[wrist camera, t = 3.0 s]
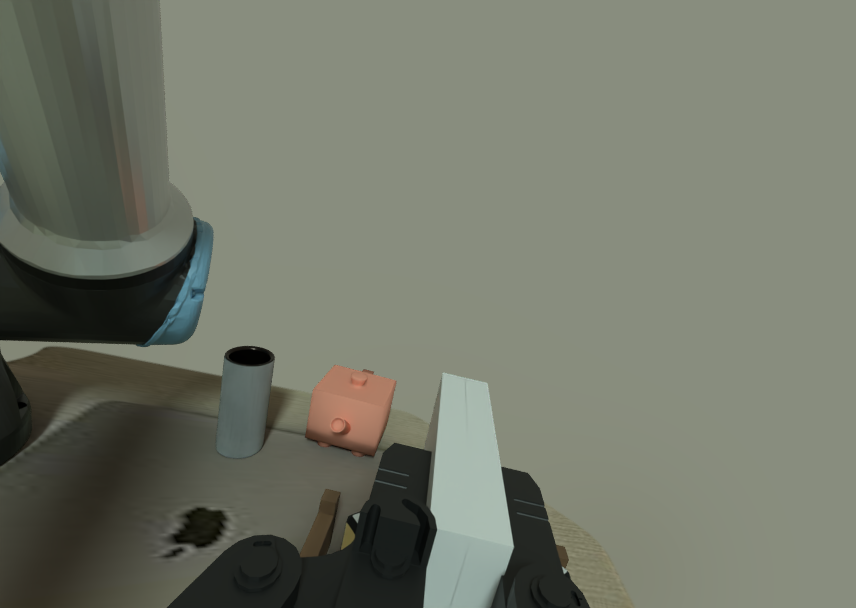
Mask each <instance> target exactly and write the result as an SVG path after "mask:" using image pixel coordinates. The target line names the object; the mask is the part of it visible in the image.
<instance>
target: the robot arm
mask: <svg viewBox="0 0 856 608" xmlns="http://www.w3.org/2000/svg"><path fill="white" fill-rule="evenodd" d="M0 172H1V174H2V177H3V179H4V181H5V182H4V183H3V184H2V185H1V186H0V340H13V341H44V342H47V341H48V342H77V343H107V344H136V345H137V346H140V347H148V346H150V345H173V344H180V343H183V342H185V341H186V340H188V339H189V338H190V337H191V336H192V335H193V333H194V331H195V329H196V327H197V323H198V320H199V316H200V313H201V309H202V303H203V298H204V291H205V287H206V283H207V279H208V274H209V268H210V262H211V255H212V247H213V228H212V226H211V225H210V224H209V223H207V222H204V221H201V220H200V219H198V218H196V217H193V215H192V210H191V207H190V205H189V203H188V201H187V199H186V198H185V196H184V195H183V194H182V193H181V192H180V191H179V190H178V189H177V188H176V187H175V186H174V185H173V184H172V183H170V182H169V168H168V149H167V130H166V112H165V92H164V74H163V55H162V36H161V18H160V0H0ZM31 430H32V420H31V406H30V403H29V400H28V398H27V397H26V395H25V394H24V392H23V390H22V388H21V387H20V385H19V383H18V381H17V380H16V378H15V376H14V375H13V373H12V371H11V370H10V368H9V366H8V365H7V363H6V361H5V360H4V358H3V356H2V354H1V351H0V464H2V463H3V462H5V461H6V460H8V459H9V458H10V457H11V456H13V455H14V454H15V453H16V452H17V451H18V450H19V449H20V448H21V447H22V446H23V445H24V444H25V442H26V441H27V440H28V438H29V436H30V433H31ZM167 608H590V607H589V605H588V603H587V601H586V599H585V597H584V595H583V593H582V592H581V591H580V590H579V588H578V587H577V586H576V585H575V584H574V583H573V582H572V580H570V579H569V578H567V577H566V576H565V575H564V572H563V568H562V565H561V561H560V558H559V554H558V551H557V547H556V544H555V540H554V537H553V533H552V530H551V526H550V523H549V522H548V516H547V512H546V509H545V508H544V501H543V498H542V494H541V491H540V488H539V487H538V486H537V484H536V483H535V482H534V480H533V479H532V478H531V476H530V475H529V474H528V473H525V472H521V471H517V470H513V469H508V468H504V467H501V465H500V458H499V452H498V446H497V441H496V434H495V427H494V421H493V415H492V409H491V403H490V396H489V390H488V384H487V383H485V382H481V381H476V380H472V379H468V378H464V377H459V376H455V375H451V374H446V373H443V374H442V378H441V382H440V386H439V390H438V394H437V398H436V402H435V406H434V410H433V414H432V418H431V422H430V426H429V430H428V434H427V438H426V442H425V448H424V450H423V449H419V448H414V447H410V446H406V445H402V444H398V443H394V444H393V445H391V446H390V447H389V448H388V449H387V450H386V451H385V452H384V453H383V455H382V458H381V462H380V465H379V469H378V472H377V475H376V478H375V482H374V485H373V489H372V492H371V495H370V499H369V500H368V501H366V503H365V504H364V506H363V508H362V509H361V511H360V515H359V519H358V524H357V529H356V534H355V538H354V540H353V541H352V543H351V544H349V545H348V546H347V547H345V548H344V549H342V550H340V551H338V552H335V553H333V554H329V555H323V556H313V557H300V555H299V553H298V551H297V549H296V547H295V546H294V545H292V544H291V543H290V542H288V541H287V540H286V539H284V538H280V537H277V536H273V535H257V536H252V537H249V538H246V539H243V540H240V541H238V542H237V543H235V544H234V545H232V546H231V547H230V548H228V549H227V550H225V551H224V552H223V553H222V554H221V555H220V556H219V557H218V558H217V559H216V560H215V561H214V562H213V563H212V564H211V565H210V566H209V567H208V568H207V569H206V570H205V571H204V572H203V573H202V574H201V575H200V576H199V577H198V578H197V579H195V580H194V581H193V582H192V583H191V584H190V585H189V586H188V587H187V588H186V589H185V590H184V591H183V592H182V593H181V594H180V595H179V596H178V597H177V598H176V599H175V600H174V601H173V602H172V603H171V604H170V605H169V606H168V607H167Z"/></svg>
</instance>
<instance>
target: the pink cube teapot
mask: <svg viewBox="0 0 856 608" xmlns="http://www.w3.org/2000/svg"><path fill="white" fill-rule="evenodd" d="M373 373H374V372H373V371H369V370H363V371H362V372H361V371H357V370H354V369H350V368H345V367H342V366H338V365H334V366H333V367H332V368H331V370H330V371H329V372H328V373H327V374H326V375H325V376H324V378H323V379H322V380H321V381H320V382H319V383H318V385H317V386H316V387H315V388H314V389H313V393H312V399H311V405H310V411H309V417H308V423H307V429H306V435H305V438H309V439H312V440H316V441H318V442H317V443H318V445H319V446H321V447H329V446H331V445H334V446H338V447H342V448H345V449H349V450H352V454H353V455H355V456H358V457H362V456H364V455H365V454H367V455H371V456H374V455H375V452H376V450H377V447H378V445H379V442H380V440H381V437H382V435H383V432H384V430H385V428H386V425H387V422H388V417H389V413H390V408H391V404H392V399H393V394H394V390H395V386H396V381H395V380H392V379H388V378H384V377H380V376H376V375H373Z"/></svg>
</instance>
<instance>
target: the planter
mask: <svg viewBox="0 0 856 608" xmlns="http://www.w3.org/2000/svg"><path fill="white" fill-rule="evenodd" d="M274 360H275V357H274V354H273V353H272V352H270V351H269V350H267V349H264V348H260V347H255V346H241V347H236V348H232V349H230V350H228V351H227V352H226V353H225V356H224V365H223V375H222V385H221V395H220V405H219V415H218V425H217V435H216V449H217V451H218V452H219V453H220V454H221V455H223V456H226V457H229V458H245V457H249V456H252V455H254V454H256V453H257V452H258V451H259V450H260V449H261V448H262V446H263V441H264V435H265V427H266V420H267V413H268V405H269V398H270V390H271V383H272V376H273V368H274Z"/></svg>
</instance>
